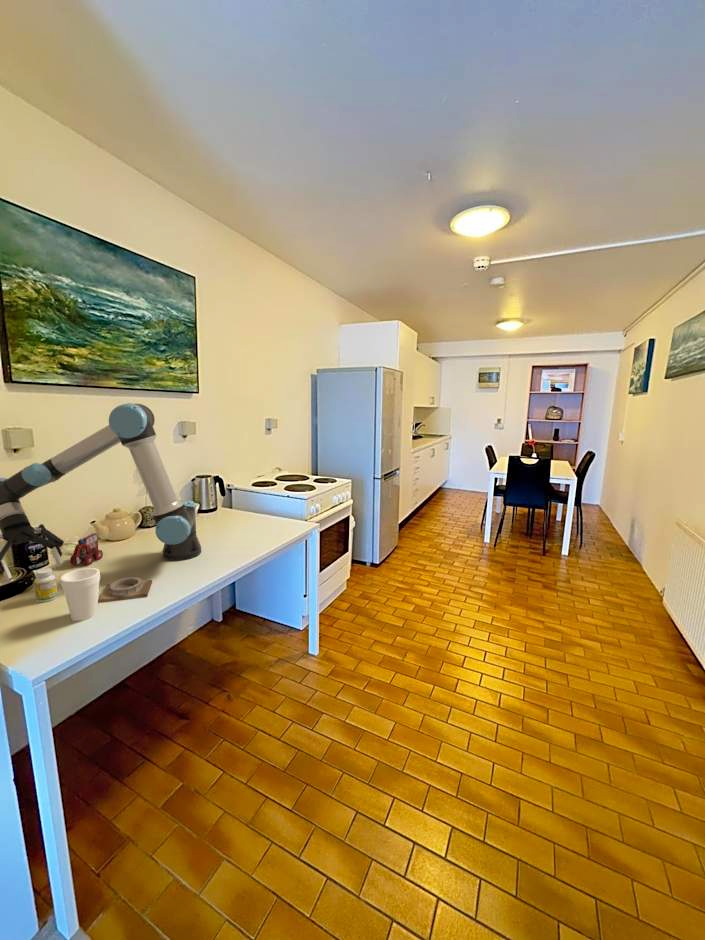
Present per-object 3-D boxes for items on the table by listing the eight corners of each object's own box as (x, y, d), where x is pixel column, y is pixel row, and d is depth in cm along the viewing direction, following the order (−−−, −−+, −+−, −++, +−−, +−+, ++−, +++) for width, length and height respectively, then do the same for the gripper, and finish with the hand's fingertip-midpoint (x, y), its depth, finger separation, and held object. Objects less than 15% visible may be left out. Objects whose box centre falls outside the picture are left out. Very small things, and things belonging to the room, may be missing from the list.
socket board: (152, 582, 137) (151, 574, 137) (147, 596, 127) (146, 588, 127) (107, 587, 133) (106, 579, 132) (98, 602, 122) (97, 593, 122)
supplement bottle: (57, 599, 123) (54, 571, 122) (35, 604, 120) (32, 575, 119) (57, 593, 128) (55, 565, 126) (37, 597, 125) (34, 569, 123)
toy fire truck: (66, 568, 147) (63, 542, 145) (90, 555, 159) (88, 531, 158) (83, 569, 147) (80, 543, 145) (106, 556, 159) (104, 532, 157)
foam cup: (109, 607, 120) (106, 568, 118) (90, 623, 111) (86, 581, 109) (78, 607, 119) (74, 567, 117) (56, 623, 110) (52, 581, 108)
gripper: (52, 516, 141) (76, 565, 136) (-41, 535, 120) (-17, 592, 115) (58, 505, 138) (82, 554, 133) (-38, 521, 117) (-13, 580, 111)
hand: (36, 572), depth 124 cm, fingers open, 13 cm apart
